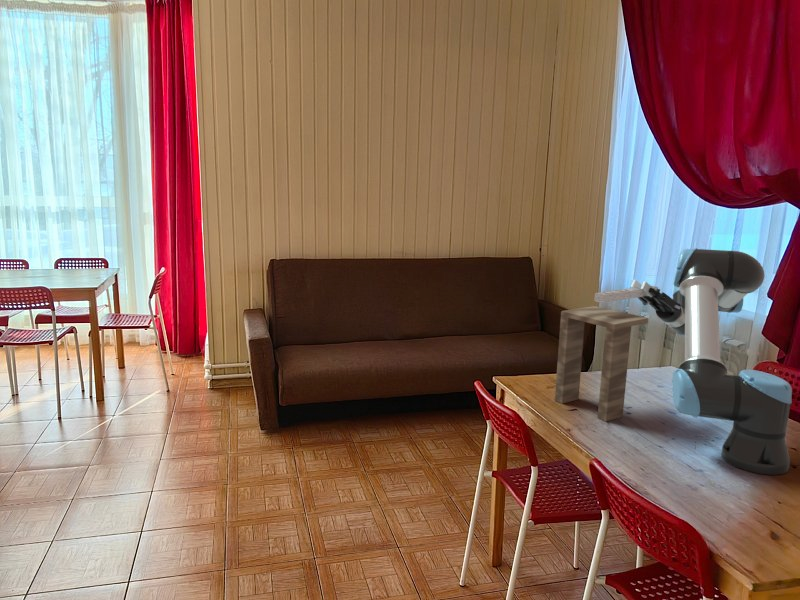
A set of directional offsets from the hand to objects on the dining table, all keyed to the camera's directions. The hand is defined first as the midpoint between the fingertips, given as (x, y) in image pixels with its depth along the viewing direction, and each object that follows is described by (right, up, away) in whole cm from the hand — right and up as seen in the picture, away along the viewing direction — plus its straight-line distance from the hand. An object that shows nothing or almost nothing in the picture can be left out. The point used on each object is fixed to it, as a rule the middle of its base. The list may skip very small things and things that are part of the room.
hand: (638, 284), depth 193 cm
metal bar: (-4, -4, -2) cm, 7 cm away
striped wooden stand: (-14, -39, -2) cm, 41 cm away
